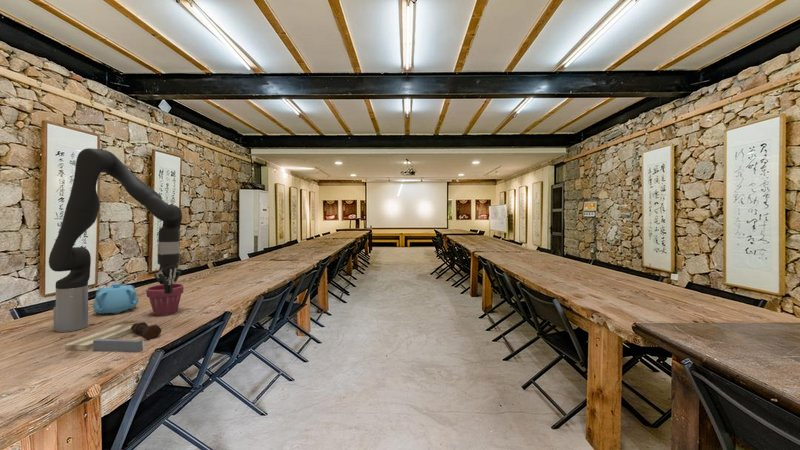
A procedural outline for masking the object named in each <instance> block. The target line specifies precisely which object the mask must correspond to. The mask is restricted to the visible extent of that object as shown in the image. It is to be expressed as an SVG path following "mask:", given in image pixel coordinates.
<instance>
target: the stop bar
mask: <svg viewBox="0 0 800 450" xmlns="http://www.w3.org/2000/svg"><path fill="white" fill-rule="evenodd" d="M143 343H144V342H143V339H124V338H123V339H122V338H121V339H120V338H117V339H96V340H93V348H92V349H93V351H95V352H96V351H97V352H100V351H101V352H129V353H130V352H133V353H134V352H137V353H140V352H141V351H143V349H144V348H143V347H144V345H143Z"/></svg>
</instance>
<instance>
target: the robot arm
mask: <svg viewBox="0 0 800 450" xmlns="http://www.w3.org/2000/svg"><path fill="white" fill-rule="evenodd" d="M101 173H102V174H104V173H105V174H107V175H108V176H111V177H112V178H113V179H115V180H116V181H118V182H119V183H120V184H121V185H122V187H123V188H124V189H125V191H126V192H127V194H128V195H130V197H132V198H133V199H134V200H135V201H137V202H138V203H140V204H141V205H142V206H144V207H145V208H146V209H147V211H149V212H150V213H151V215H152V216H154V217H155V218H156V219H158V220H159V221H161V222H162V226H161V228H159V230H158V235H157V236H158V244H157V260H156V261H157V264H158V265H159V268H158V272H157V273H154V274H153V276H154V278H155V279H156V280H157V282H158V283H159V285H162V284H163V285H164V292H165V294H170V293H172V291H173V284H175V283H176V282H177V281H178V280H179V277H180V275H181V273H182V271H183V270H182V268H179V265H178V264H179V263H180V262H181V259H180V258H181V257H180V256H181V253H180V252H181V251H180V249H181V248H180V247H181V246H180V228H181V225H182V219H183V212H182V209H181V208H180V207H179V206H178V205H174V204H168V203H167V202H166V201H165V200H163V199H162V196H161V194H159V193H158V192H156V191H155V190H154V189H152V188H151V186H149V185H147V184H146V183H145V182H144V181H142V180H141V179H140V178H139V177H138V176H136V175H135V174H134V173H133V172H132V171H131V170H130V169H129V168H128V167H127V166H126V165H125V164H124V163H123V162H122V161H121V160H120V159H119V158H118V157H117V156H116V155H115V154H114V153H112V151H109V150H107V149H100V148H91V147H90V148H89V147H87V148H84V149H82V150H81V151H80V152H78V154H77V156H76V161H75V169H74V176H73V182H72V186H71V189H70V192H69V193H70V194H69V197H68V201H67V202H66V203H67V204H66V207H65V211H64V215H63V218H62V222H61V225H60V229H59V231H58V235H57V237H56V239H55V241H54V244H53V246H52V248H51V251H50V253H49V257H48V266H49V268H50V269H51V270H52V271H53V272H57V273H58V272H68V271H70V272H69V273H68V274H67V275H65V277H62V278H60V279H59V280H56V282H55V306H54V307H52V308H53V309H52V311H53V312H52V313H53V316H52V317H53V318H52V319H53V331H56V332H57V333H66V332H67V333H68V332H74V331H75V332H76V331H78V330H82V329H85V328H87V327H89V280H90V277H91V266H92V265H91V263H92V262H91V261H92V257H91V253H90V250H89V249H87V248H86V247H83V246H77V247H74V246H75V243H76V242H77V240H78V239H79V238H80V237H81V236H82V235H83V234H84V233H85V232H86V231H88V229H89V228H91V227H92V226H93V225H94V224H95V222H96V220H97V218H98V215H99V212H100V206H101V204H100V203H101V202H100V201H101V200H100V198H99V195H98V192H97V183H98V180H99V176H100V174H101Z"/></svg>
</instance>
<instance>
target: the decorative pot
mask: <svg viewBox="0 0 800 450" xmlns="http://www.w3.org/2000/svg"><path fill="white" fill-rule="evenodd" d="M135 289H136V288H135V286H134V285H131V284H128V285H125V284H123V285H121V283H120V282H116V283H112V284H111V286H107V287H101V288H98V289H97V290H96V292H95V297H94V300H93V305H92V309H93V310H94V312H96V313H99V314H100V315H102V314H103V315H104V313H105V314H114V315H119V314H121V313H122V312H124V311H129V310H128V309H131V310H132V309H133V308H135V307H136V306H137V305H138V303H139V296H138V294H137V290H135ZM118 313H119V314H118Z"/></svg>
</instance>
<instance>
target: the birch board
mask: <svg viewBox="0 0 800 450" xmlns="http://www.w3.org/2000/svg"><path fill="white" fill-rule="evenodd" d="M132 326H133V324H132V325H131V324H130V325H125V324H123V325H121V324H117V325H115V326H112V327H109V328H107V329H104V330H101V331H98V332H96V333H92V334H91V335H87V336H84V337H82V338H80V339H77V340H74V341H71V342H69V343H66V344H64V350H65V351H89V350H92V349H93V340H96V339H120V338H122V337H123V336H126V335H129V334H131V333H134V332H133V330H132V329H131V327H132Z"/></svg>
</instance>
